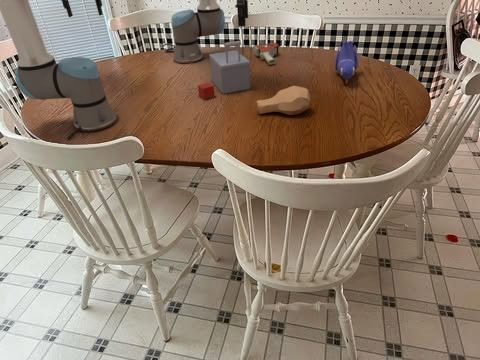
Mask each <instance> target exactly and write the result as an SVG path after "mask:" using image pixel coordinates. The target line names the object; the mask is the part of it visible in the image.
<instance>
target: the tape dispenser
mask: <svg viewBox="0 0 480 360" xmlns="http://www.w3.org/2000/svg"><path fill="white" fill-rule="evenodd" d="M266 46H267V47H266ZM279 48H280V47H279V44H278V43H277V42H270V43H269V42H268V43H263V44H259V45H253V46H252V50H253V54H254V55H255V56H256V57H259V58H260V61H266V62H267V64H268V66H271V65H275V63H276V59H275V58H274V56H278V55H279Z"/></svg>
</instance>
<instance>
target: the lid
mask: <svg viewBox="0 0 480 360" xmlns="http://www.w3.org/2000/svg"><path fill="white" fill-rule="evenodd" d="M223 45H224V51H222V52H221V51H220V52H215V53H210V54H208V55H209V59H210V58H211V59H212V60H213V61H214V62H215V63H216V64H217V65H218V66H219V67H220V68H221V69H223V68H229V67H235V66H241V65H247V64H249V65H251V60H249V59H248V58H246V57H245V56H244V55H243V54H242V53H241V47H240V46H241V41H240V40H236V41H227V42H224V43H223ZM230 47H231V48H232V47H237V49H235V50H228V48H230Z"/></svg>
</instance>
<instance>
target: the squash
mask: <svg viewBox="0 0 480 360" xmlns="http://www.w3.org/2000/svg"><path fill="white" fill-rule="evenodd" d="M311 98H312V97H311V95H310V90H309V89H307V88H306V87H302V86H298V85H292V86H289V87H287V88H283V89H280V90H279V91H277V92H276V94H275V95H274V96H272V97H271V98H265V99H257V100H256V102H255V103H256V107H257V109H256V110H257V113H258V114H259V115H263V114H266V113H273V112H275V113H282V114H284V115H287V116H295V115H300V114H301V113H303V112H305V111H306V110H308V109H309V107H310V102H311Z"/></svg>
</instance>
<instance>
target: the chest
mask: <svg viewBox="0 0 480 360" xmlns="http://www.w3.org/2000/svg"><path fill="white" fill-rule="evenodd" d="M209 66H210V75H211V81H212V83H213V84H214V85H215V86H216V88H217V89H218V90H219V91H220V92H221V94H223V95H225V94H231V93H235V92H241V91H245V90H251V71H250V69H251V68H250V64H247V65H241V66H235V67H229V68H223V69H221V68H220V67H219V66H218V65H217V64H216V63H215V62H214V61H213V60H212V59H211V58H210V57H209Z"/></svg>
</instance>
